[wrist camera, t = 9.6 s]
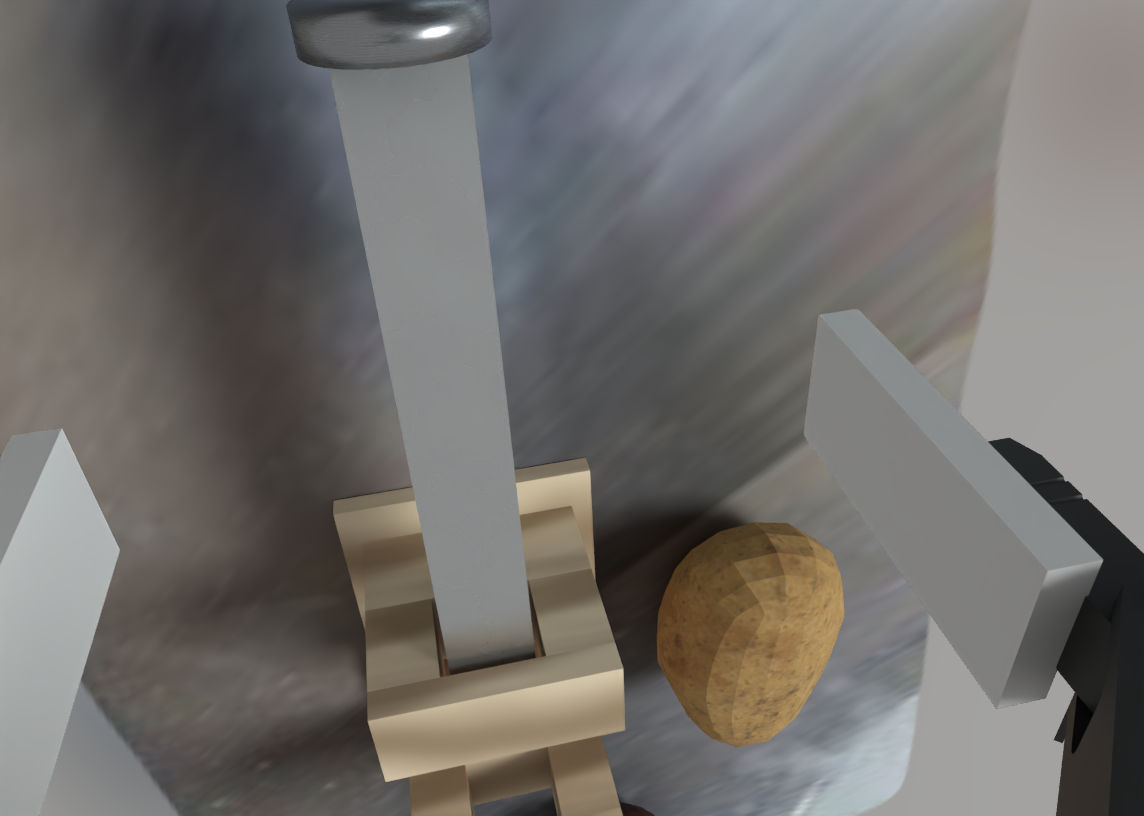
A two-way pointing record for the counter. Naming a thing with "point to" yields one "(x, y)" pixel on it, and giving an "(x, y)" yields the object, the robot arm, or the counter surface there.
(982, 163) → the counter surface
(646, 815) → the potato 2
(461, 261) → the shaft
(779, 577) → the potato
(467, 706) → the bearing stand
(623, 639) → the counter surface
